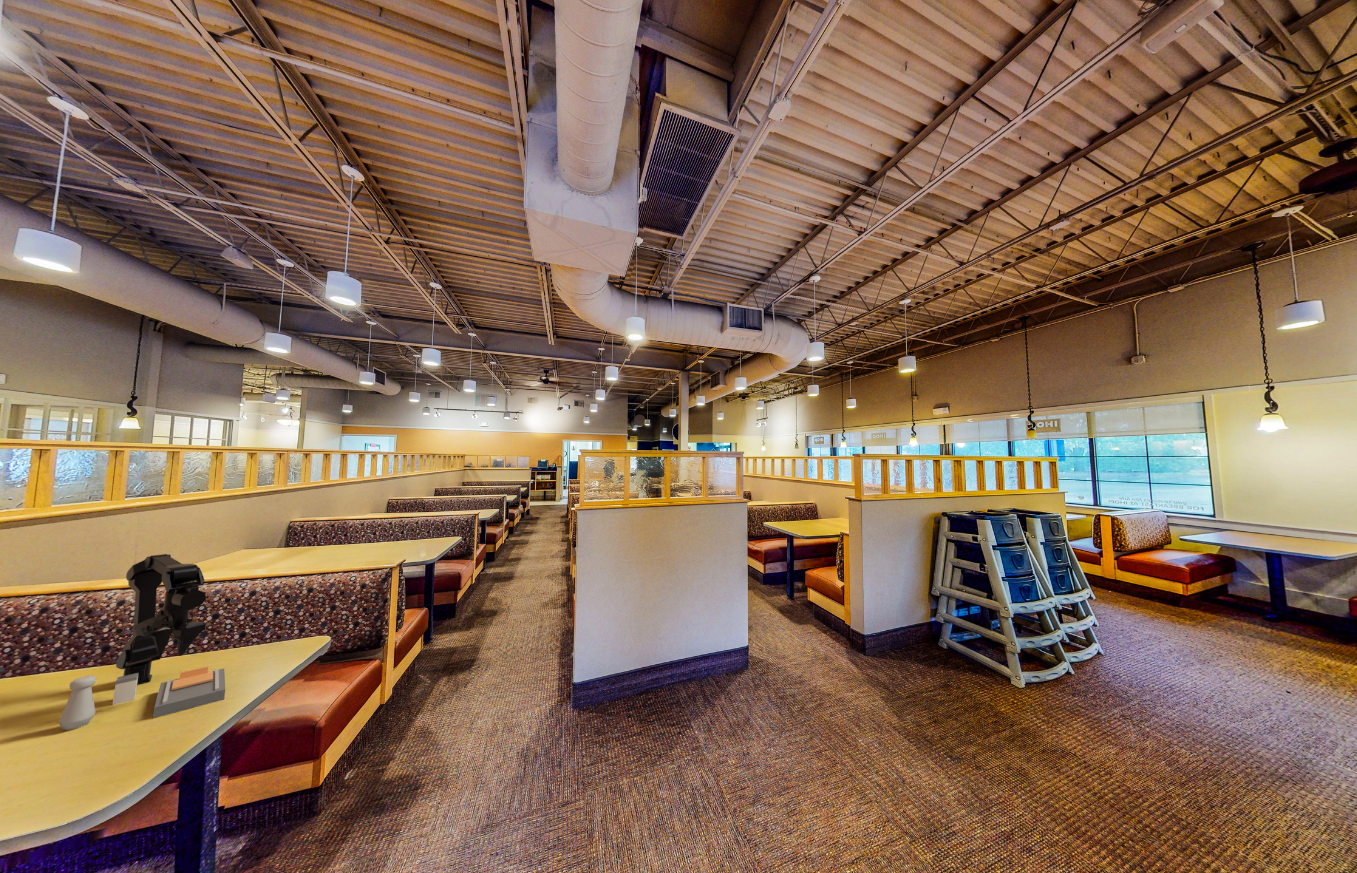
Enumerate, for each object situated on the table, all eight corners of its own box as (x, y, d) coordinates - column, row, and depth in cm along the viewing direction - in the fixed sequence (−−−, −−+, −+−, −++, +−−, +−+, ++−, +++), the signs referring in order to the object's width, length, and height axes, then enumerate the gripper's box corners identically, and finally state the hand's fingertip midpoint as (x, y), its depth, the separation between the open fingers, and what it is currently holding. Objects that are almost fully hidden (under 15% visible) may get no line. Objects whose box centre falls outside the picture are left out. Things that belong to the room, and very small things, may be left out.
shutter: (173, 681, 134) (174, 673, 134) (212, 672, 140) (213, 664, 141) (171, 690, 128) (172, 681, 129) (212, 680, 135) (213, 672, 135)
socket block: (159, 692, 133) (161, 680, 134) (223, 677, 144) (224, 666, 144) (152, 718, 119) (154, 705, 119) (224, 699, 129) (225, 687, 130)
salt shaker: (65, 733, 112) (73, 683, 113) (51, 731, 113) (59, 681, 114) (99, 721, 117) (106, 674, 119) (85, 719, 119) (93, 672, 120)
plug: (114, 700, 129) (117, 677, 129) (135, 695, 132) (138, 672, 132) (112, 705, 126) (115, 681, 127) (133, 699, 129) (137, 676, 130)
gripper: (120, 609, 129) (112, 661, 128) (162, 615, 125) (155, 668, 124) (170, 599, 140) (163, 647, 138) (210, 604, 136) (204, 652, 135)
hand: (170, 653), depth 134 cm, fingers open, 9 cm apart
